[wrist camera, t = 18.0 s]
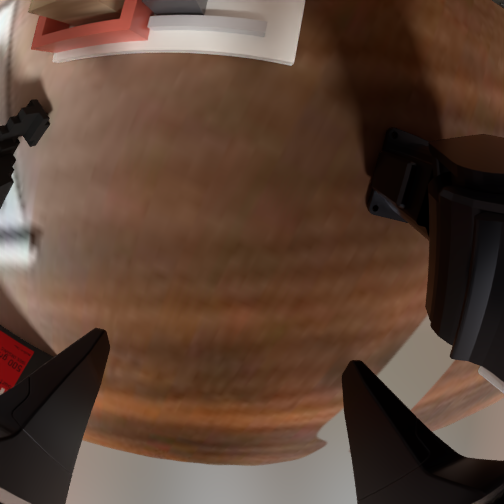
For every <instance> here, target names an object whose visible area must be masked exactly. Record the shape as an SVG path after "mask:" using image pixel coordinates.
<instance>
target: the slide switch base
mask: <svg viewBox="0 0 504 504" xmlns="http://www.w3.org/2000/svg"><path fill="white" fill-rule="evenodd" d="M304 5H305V0H208V1H207V5H206V10H205V14H204V15H161V16H157V15H156V14H155V13H154V12H153V11H152V10H151V9H149V8H148V7H147V6H146V5H145V4H144V3H143V2H142V0H125V1H124V5H123V8H122V12H121V16H120V19H114V20H107V21H101V22H95V23H90V24H85V25H81V26H76V27H75V26H72V25H70V24H67V23H64V22H60V21H57V20H54V19H51V18H47V17H44V16H39V19H38V23H37V26H36V30H35V34H34V38H33V43H32V47H31V49H32V50H39V51H46V52H53V53H54V56H53V61H52V62H56V63H62V62H67V61H73V60H78V59H85V58H92V57H99V56H108V55H119V54H132V53H162V52H171V53H201V54H215V55H226V56H235V57H243V58H251V59H257V60H264V61H270V62H275V63H280V64H285V65H290V66H292V65H293V64H294V60H295V54H296V49H297V43H298V38H299V33H300V27H301V22H302V16H303V11H304Z"/></svg>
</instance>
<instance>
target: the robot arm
mask: <svg viewBox="0 0 504 504" xmlns="http://www.w3.org/2000/svg"><path fill="white" fill-rule="evenodd" d="M393 132H395V137H394V138H393V137H392V133H393ZM371 186H372V192H371V195H370V199H369V202H368V206H367V208H368V211H369V212H370V213H371V214H373V215H377V216H381V217H386V218H390V219H394V220H398V221H402V222H406V223H409V224H410V225H412V226H413V227H414V228H415V229H416V230H417V231H419V232H420V233H421V234H422V235H423V236H424V237H425V238H427V239H428V240H429V268H428V283H427V295H426V306H425V307H426V310H427V313H428V316H429V319H430V321H431V328H432V329H433V330H434V331H435V333H436V334H437V335H438V336H439V337H440V338H442V339H443V340H444V341H446V342H447V343H449V344H450V345H453V346H452V350H451V353H450V357H451V359H455V360H463V361H469V362H472V363H474V364H477V365H480V366H482V367H484V368H485V369H487V370H488V371H490V372H491V373H492V374H494V375H495V376H496V377H498V378H499V379H500V380H501V381H503V382H504V138H502V137H497V136H492V135H486V134H480V135H472V136H464V137H457V138H450V139H443V140H437V141H430V142H428V141H426V140H424V139H422V138H419V137H417V136H414V135H412V134H410V133H407V132H405V131H402V130H399V129H397V128H389V129H388V130H387V132H386V137H385V141H384V145H383V150H382V152H380V153H379V157H378V161H377V165H376V169H375V173H374V176H373V180H372V184H371ZM374 205H376V209H374V210H372V208H373V206H374ZM109 351H110V344H109V340H108V336H107V332H106V331H105V330H104V329H100V328H94V329H93V330H92V331H90V332H89V333H87V334H86V335H84V336H83V337H82V338H80V339H79V340H77V341H76V342H75V343H73V344H72V345H70V346H69V347H68V348H66V349H65V350H63V351H62V352H61V353H59V354H58V355H56V356H55V357H54V358H52V359H51V360H49V361H48V362H47V363H45V364H44V365H43V366H41V367H40V368H39V369H37V370H36V371H34V372H33V373H32V374H30V376H28V377H26V378H25V379H24V380H22V381H21V382H19V383H18V384H16V385H15V386H14V387H12V388H10V389H9V390H7V391H6V392H4V393H2V394H1V395H0V504H65V503H66V498H67V494H68V490H69V486H70V482H71V478H72V473H73V469H74V465H75V462H76V459H77V455H78V451H79V448H80V445H81V442H82V438H83V435H84V432H85V429H86V426H87V423H88V420H89V417H90V414H91V411H92V408H93V405H94V402H95V399H96V397H97V394H98V391H99V388H100V385H101V382H102V378H103V374H104V370H105V366H106V362H107V358H108V355H109ZM342 388H343V403H344V414H345V420H346V426H347V432H348V438H349V444H350V451H351V457H352V464H353V471H354V479H355V487H356V495H357V504H504V461H497V460H484V459H475V458H467V457H464V456H462V455H460V454H458V453H457V452H455V451H454V450H453V449H451V447H449V446H448V445H447V444H446V443H444V442H443V441H442V440H441V439H440V438H438V437H437V436H436V435H435V434H434V433H433V432H432V431H430V430H429V429H428V428H427V427H426V426H425V425H424V424H423V423H422V422H421V421H420V420H419V419H418V418H417V417H416V416H415V415H414V414H413V413H412V412H411V411H410V410H409V409H408V408H407V407H406V405H404V404H403V402H402V401H401V400H399V398H398V397H397V396H396V395H395V394H394V393H393V392H392V391H391V390H390V389H389V388H388V387H387V386H386V385H385V384H384V383H383V382H382V381H381V380H380V379H379V378H378V377H377V376H376V375H375V374H374V373H373V372H372V371H371V370H370V369H369V368H368V367H367V366H366V365H365V364H364V363H363V362H362V361H360V360H352V361H350V362H349V364H348V366H347V367H346V369H345V371H344V372H343V375H342Z"/></svg>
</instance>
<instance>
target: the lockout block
mask: <svg viewBox="0 0 504 504" xmlns="http://www.w3.org/2000/svg"><path fill="white" fill-rule="evenodd" d="M124 1H125V0H32V1H31V4H30V7H29V11H28V12H29V13H33V14H37V15H40V16H44V17H47V18H51V19H54V20H57V21H60V22H64V23H67V24H70V25H72V26H75V27H76V26H81V25H85V24H90V23H95V22H101V21H107V20H114V19H120V16H121V12H122V8H123V5H124Z"/></svg>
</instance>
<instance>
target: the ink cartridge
mask: <svg viewBox="0 0 504 504" xmlns="http://www.w3.org/2000/svg"><path fill="white" fill-rule="evenodd" d="M492 1H493V2H495V3H497V4H498V5H500V6H501V7H503V8H504V0H492Z"/></svg>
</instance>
